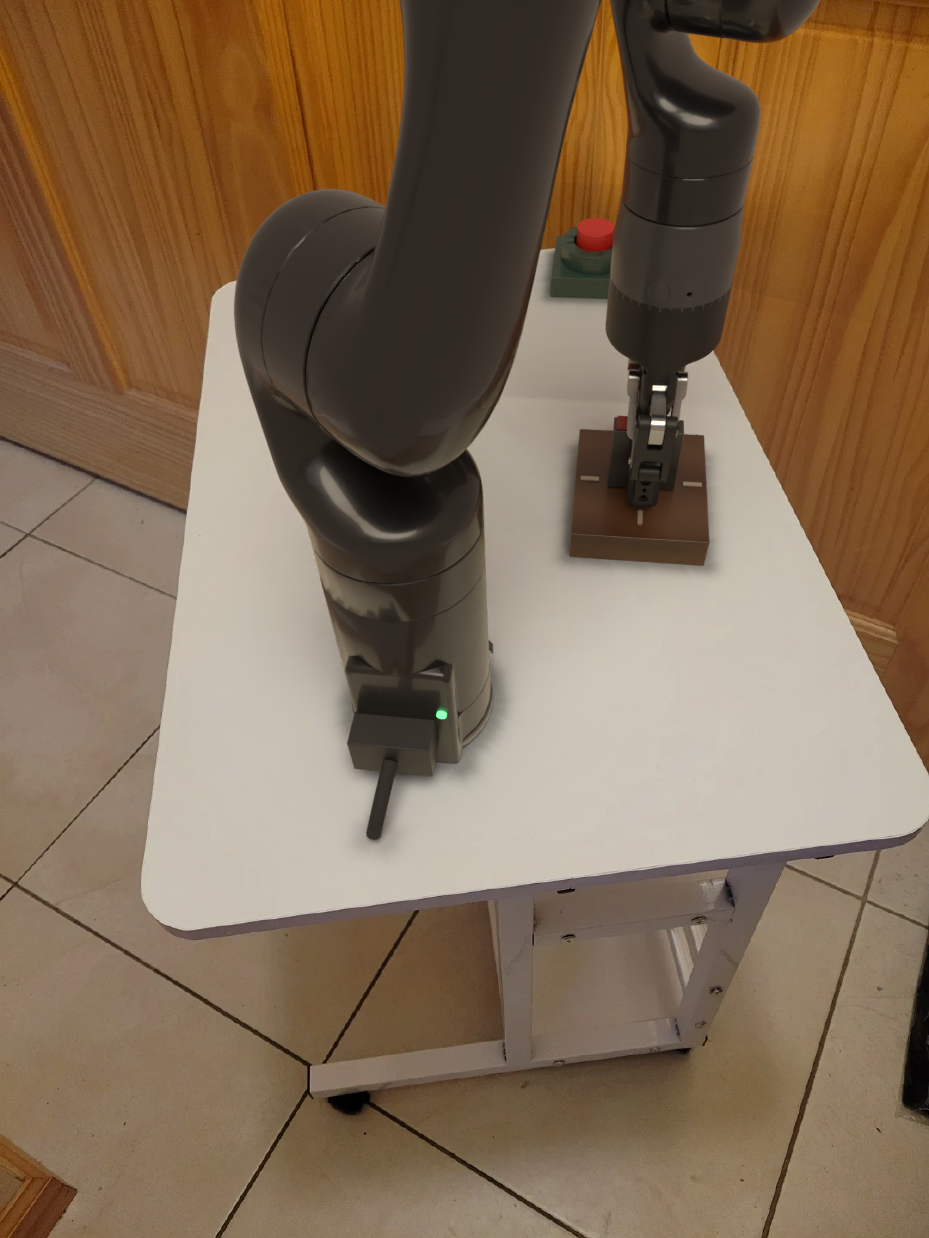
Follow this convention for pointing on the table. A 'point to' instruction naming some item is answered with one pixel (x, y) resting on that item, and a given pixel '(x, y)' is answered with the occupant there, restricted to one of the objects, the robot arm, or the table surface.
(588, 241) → the button
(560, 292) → the button box
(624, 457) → the lock knob
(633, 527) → the panel
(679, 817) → the table surface
